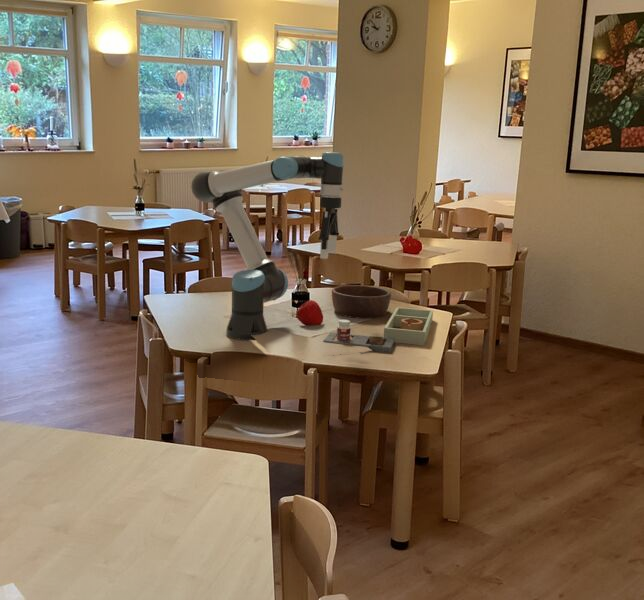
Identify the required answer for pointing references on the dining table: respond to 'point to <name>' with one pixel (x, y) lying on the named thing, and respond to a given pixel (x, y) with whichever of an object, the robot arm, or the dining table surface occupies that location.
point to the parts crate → (408, 335)
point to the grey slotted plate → (364, 342)
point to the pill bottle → (343, 330)
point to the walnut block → (376, 339)
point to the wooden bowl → (361, 301)
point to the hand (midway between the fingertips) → (328, 255)
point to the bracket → (411, 324)
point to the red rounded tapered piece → (310, 313)
